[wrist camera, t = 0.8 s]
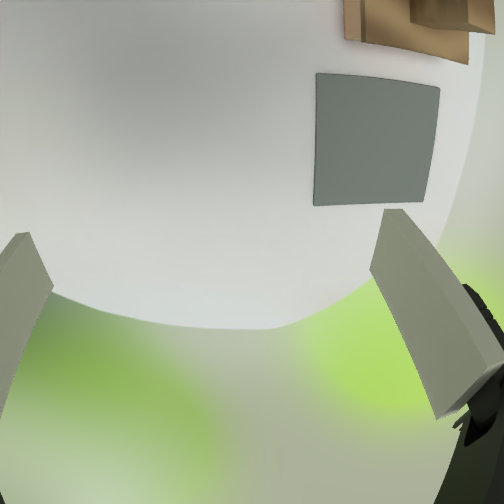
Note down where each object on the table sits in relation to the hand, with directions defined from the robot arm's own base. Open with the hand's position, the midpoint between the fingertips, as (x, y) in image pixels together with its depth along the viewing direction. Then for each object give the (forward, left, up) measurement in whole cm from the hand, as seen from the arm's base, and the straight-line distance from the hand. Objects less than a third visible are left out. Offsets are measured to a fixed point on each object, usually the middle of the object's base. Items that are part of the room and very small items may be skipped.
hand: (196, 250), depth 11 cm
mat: (+5, +20, -27) cm, 34 cm away
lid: (-14, +21, -21) cm, 33 cm away
